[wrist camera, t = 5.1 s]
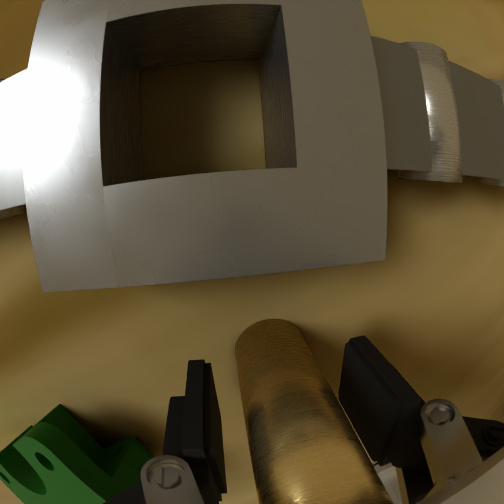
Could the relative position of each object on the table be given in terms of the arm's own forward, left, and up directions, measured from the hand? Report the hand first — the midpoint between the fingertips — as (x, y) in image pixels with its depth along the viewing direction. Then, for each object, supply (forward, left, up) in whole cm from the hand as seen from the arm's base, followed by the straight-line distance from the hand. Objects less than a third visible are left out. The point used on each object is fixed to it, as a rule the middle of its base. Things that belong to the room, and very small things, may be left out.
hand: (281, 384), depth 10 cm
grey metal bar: (+2, -10, -2) cm, 10 cm away
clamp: (+13, +7, -3) cm, 15 cm away
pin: (0, 0, -2) cm, 2 cm away
